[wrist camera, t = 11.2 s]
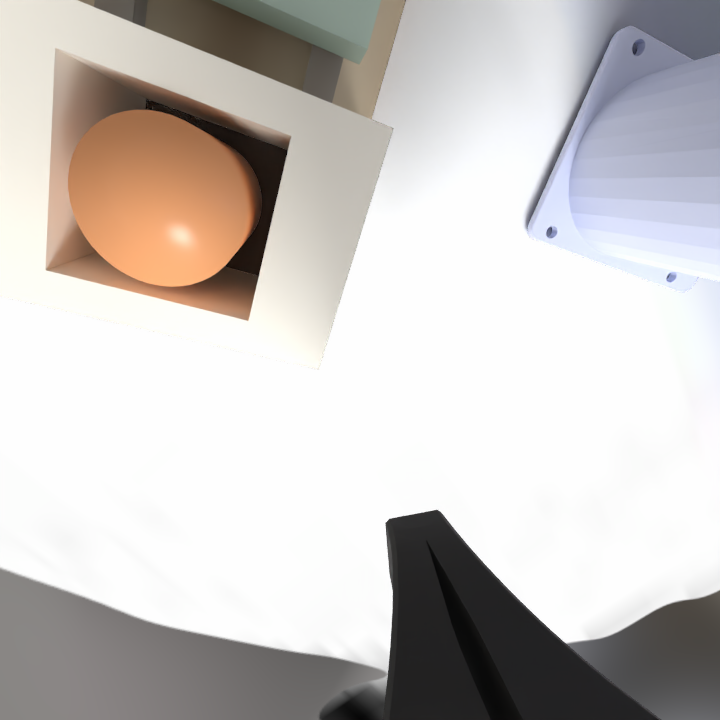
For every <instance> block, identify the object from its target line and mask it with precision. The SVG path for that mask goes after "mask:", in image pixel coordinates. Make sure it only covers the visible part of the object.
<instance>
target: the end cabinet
mask: <svg viewBox="0 0 720 720" xmlns="http://www.w3.org/2000/svg"><path fill="white" fill-rule="evenodd" d="M147 99H148V100H151V101H154V102H157V103H159V104H162V105H165V106H168V107H170V108H173V109H176V110H179V111H181V112H184V113H187V114H190V115H192V116H195V117H198V118H201V119H203V120H206V121H209V122H212V123H214V124H217V125H220V126H223V127H225V128H228V129H231V130H234V131H236V132H239V133H242V134H245V135H247V136H250V137H253V138H256V139H258V140H261V141H264V142H267V143H269V144H272V145H275V146H278V147H280V148H283V149H286V150H288V152H287V156H286V161H285V165H284V169H283V174H282V178H281V182H280V187H279V191H278V195H277V200H276V204H275V208H274V213H273V217H272V221H271V226H270V230H269V234H268V239H267V243H266V247H265V252H264V256H263V260H262V265H261V269H260V273H259V276H257V275H254V274H250V273H247V272H243V271H240V270H236V269H232V268H229V267H225V266H224V267H223V268H222V269H221V270H220V271H219V272H217V273H216V274H214V275H213V276H211V277H210V278H208V279H205V280H203V281H201V282H198V283H195V284H192V285H186V286H175V287H169V286H159V285H154V284H149V283H146V282H143V281H139V280H137V279H135V278H133V277H130V276H128V275H126V274H125V273H123V272H121V271H119V270H118V269H116V268H115V267H114V266H112V265H111V264H110V263H108V262H107V261H106V260H105V259H104V258H103V257H102V256H101V255H99V253H98V252H97V251H96V250H95V249H94V248H93V247H92V246H91V244H90V243H89V242H88V240H87V239H86V237H85V236H84V234H83V233H82V231H81V229H80V227H79V225H78V223H77V221H76V219H75V216H74V214H73V211H72V207H71V203H70V199H69V192H68V173H69V166H70V162H71V159H72V155H73V153H74V151H75V149H76V146H77V144H78V143H79V141H80V140H81V139H82V137H83V136H84V134H85V133H86V132H87V131H88V130H89V129H90V128H91V127H92V126H94V125H95V124H96V123H98V122H99V121H101V120H102V119H104V118H106V117H108V116H110V115H113V114H116V113H119V112H123V111H129V110H145V109H146V100H147ZM392 131H393V128H392V127H389V126H387V125H384V124H382V123H379V122H377V121H374V120H372V119H369V118H367V117H364V116H362V115H359V114H357V113H355V112H352V111H350V110H347V109H345V108H342V107H340V106H337V105H335V104H332V103H330V102H327V101H325V100H322V99H320V98H318V97H315V96H313V95H310V94H308V93H305V92H303V91H300V90H298V89H295V88H293V87H290V86H288V85H285V84H283V83H280V82H278V81H276V80H273V79H271V78H268V77H266V76H263V75H261V74H258V73H256V72H253V71H251V70H248V69H246V68H243V67H241V66H238V65H236V64H234V63H231V62H229V61H226V60H224V59H221V58H219V57H216V56H214V55H211V54H209V53H206V52H204V51H201V50H199V49H196V48H194V47H192V46H189V45H187V44H184V43H182V42H179V41H177V40H174V39H172V38H169V37H167V36H164V35H162V34H159V33H157V32H155V31H152V30H150V29H147V28H145V27H142V26H140V25H137V24H135V23H132V22H130V21H127V20H125V19H122V18H120V17H117V16H115V15H113V14H110V13H108V12H105V11H103V10H100V9H98V8H95V7H93V6H90V5H88V4H85V3H83V2H80V1H78V0H0V296H1V297H5V298H10V299H14V300H18V301H23V302H27V303H31V304H36V305H40V306H44V307H49V308H53V309H58V310H62V311H66V312H71V313H75V314H79V315H84V316H88V317H92V318H97V319H101V320H105V321H110V322H114V323H118V324H123V325H127V326H132V327H136V328H140V329H145V330H149V331H153V332H158V333H162V334H166V335H171V336H175V337H179V338H184V339H188V340H192V341H197V342H201V343H205V344H210V345H214V346H219V347H223V348H227V349H232V350H236V351H240V352H245V353H249V354H253V355H258V356H262V357H266V358H271V359H275V360H279V361H284V362H288V363H292V364H297V365H301V366H306V367H310V368H314V369H319V367H320V364H321V361H322V358H323V354H324V351H325V348H326V345H327V341H328V338H329V335H330V332H331V328H332V325H333V322H334V319H335V315H336V312H337V309H338V306H339V303H340V299H341V296H342V293H343V290H344V286H345V283H346V280H347V277H348V273H349V270H350V267H351V264H352V261H353V257H354V254H355V251H356V248H357V244H358V241H359V238H360V235H361V231H362V228H363V225H364V222H365V218H366V215H367V212H368V209H369V206H370V202H371V199H372V196H373V193H374V189H375V186H376V183H377V180H378V176H379V173H380V170H381V167H382V164H383V160H384V157H385V154H386V151H387V147H388V144H389V141H390V138H391V134H392Z"/></svg>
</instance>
